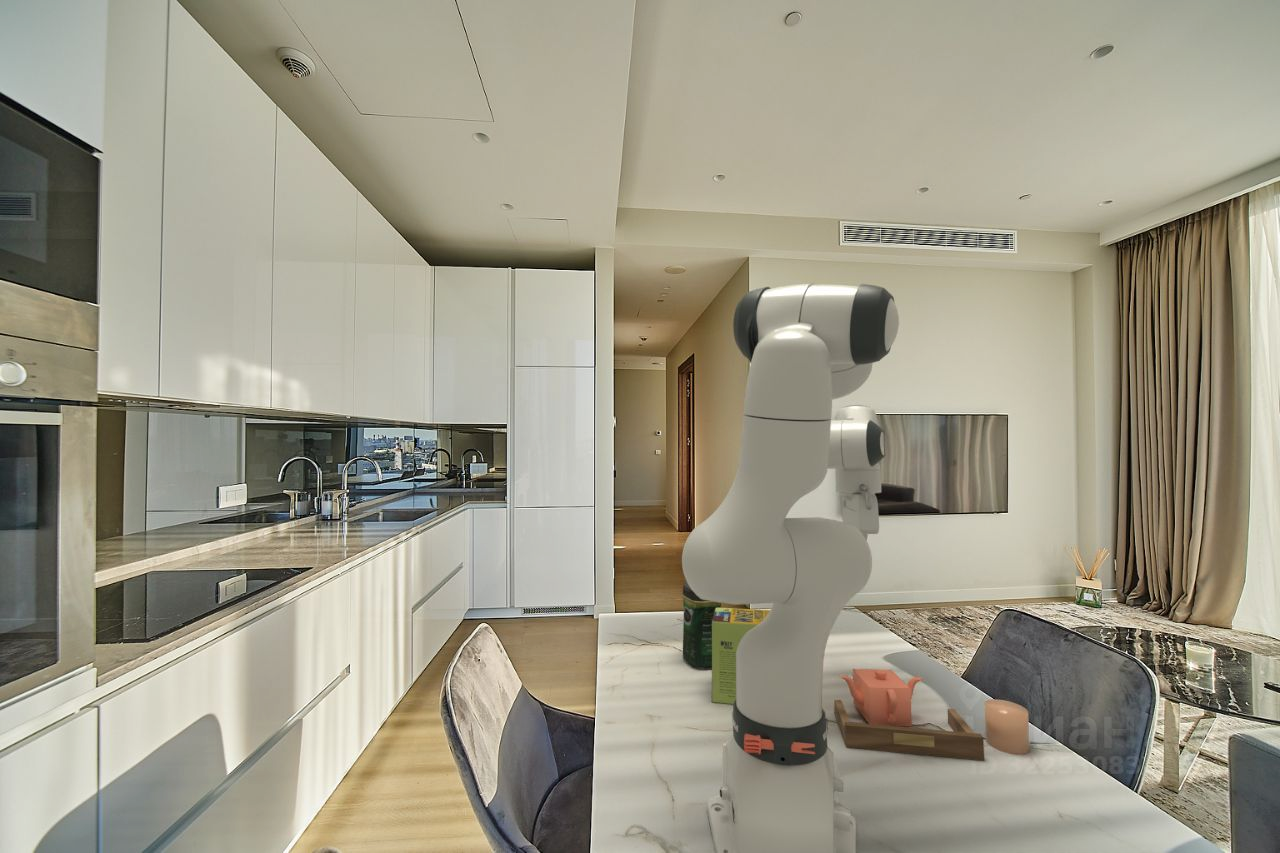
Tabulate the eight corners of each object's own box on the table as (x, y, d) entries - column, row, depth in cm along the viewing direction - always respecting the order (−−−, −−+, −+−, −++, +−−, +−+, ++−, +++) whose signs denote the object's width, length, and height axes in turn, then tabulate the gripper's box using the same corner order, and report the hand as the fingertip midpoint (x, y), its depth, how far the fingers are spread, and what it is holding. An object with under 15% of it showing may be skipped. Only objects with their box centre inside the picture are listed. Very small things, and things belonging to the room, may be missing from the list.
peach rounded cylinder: (1037, 756, 86) (1035, 717, 86) (995, 752, 87) (994, 714, 87) (1018, 737, 92) (1017, 700, 92) (979, 733, 93) (978, 697, 93)
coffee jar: (727, 668, 121) (726, 583, 122) (694, 672, 119) (694, 586, 120) (708, 653, 130) (708, 574, 131) (678, 656, 128) (678, 576, 129)
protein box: (794, 710, 101) (793, 626, 102) (711, 703, 104) (710, 620, 105) (790, 687, 111) (789, 610, 112) (714, 680, 115) (714, 606, 115)
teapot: (829, 702, 105) (829, 658, 105) (909, 704, 104) (908, 659, 104) (850, 733, 93) (849, 683, 93) (940, 736, 92) (939, 685, 93)
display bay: (984, 761, 84) (984, 738, 85) (846, 747, 88) (846, 725, 88) (955, 723, 96) (954, 703, 96) (834, 713, 100) (834, 694, 100)
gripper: (886, 485, 103) (889, 560, 102) (864, 482, 123) (866, 544, 122) (851, 485, 104) (853, 559, 103) (834, 482, 124) (836, 544, 123)
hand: (860, 551), depth 112 cm, fingers closed
